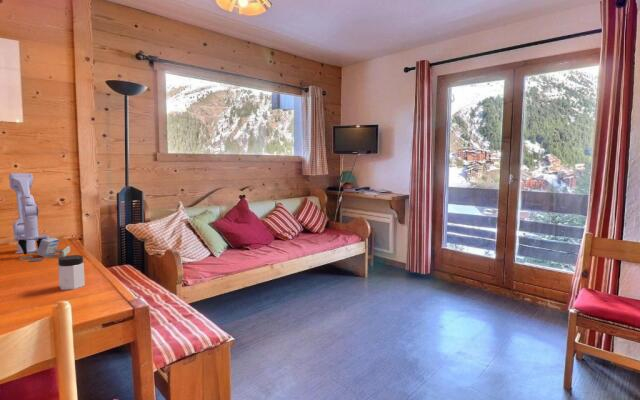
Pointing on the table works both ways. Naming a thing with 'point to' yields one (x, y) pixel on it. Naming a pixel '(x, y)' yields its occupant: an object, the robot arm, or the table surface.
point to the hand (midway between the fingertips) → (32, 253)
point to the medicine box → (47, 246)
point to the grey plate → (42, 258)
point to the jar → (71, 272)
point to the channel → (64, 253)
